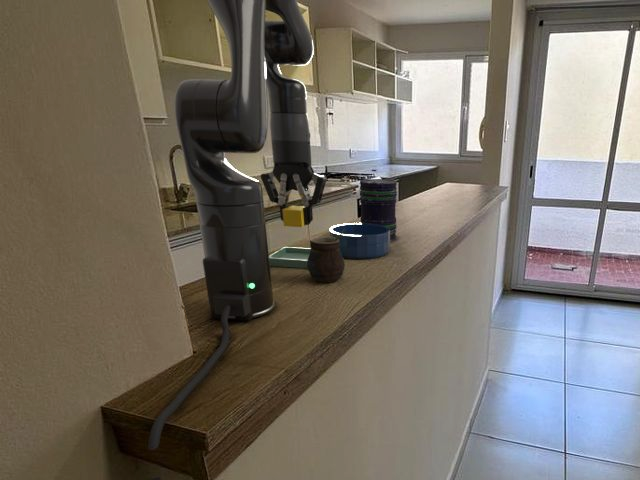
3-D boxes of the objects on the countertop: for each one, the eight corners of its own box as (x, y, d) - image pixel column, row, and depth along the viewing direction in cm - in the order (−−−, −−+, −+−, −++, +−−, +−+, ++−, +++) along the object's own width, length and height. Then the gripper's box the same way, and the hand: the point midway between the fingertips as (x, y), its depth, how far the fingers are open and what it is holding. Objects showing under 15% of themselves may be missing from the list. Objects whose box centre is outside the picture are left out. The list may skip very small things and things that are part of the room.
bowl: (383, 261, 101) (383, 237, 99) (322, 257, 102) (321, 233, 100) (394, 246, 114) (394, 225, 112) (340, 243, 115) (339, 221, 113)
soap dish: (315, 269, 94) (315, 261, 94) (266, 265, 95) (265, 257, 95) (330, 256, 103) (330, 249, 103) (285, 253, 104) (284, 246, 104)
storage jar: (368, 232, 128) (367, 166, 121) (401, 235, 126) (402, 168, 119) (354, 239, 120) (352, 169, 113) (389, 243, 117) (389, 171, 110)
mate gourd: (305, 275, 90) (301, 225, 86) (342, 272, 93) (340, 224, 89) (310, 286, 84) (307, 234, 80) (350, 283, 86) (348, 232, 83)
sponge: (302, 227, 94) (300, 210, 92) (283, 226, 94) (282, 209, 93) (310, 222, 98) (309, 206, 97) (293, 221, 99) (291, 205, 97)
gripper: (248, 137, 87) (257, 225, 94) (318, 140, 85) (323, 229, 92) (265, 136, 94) (273, 218, 100) (330, 139, 92) (334, 222, 99)
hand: (297, 223), depth 96 cm, fingers closed on sponge, 4 cm apart
